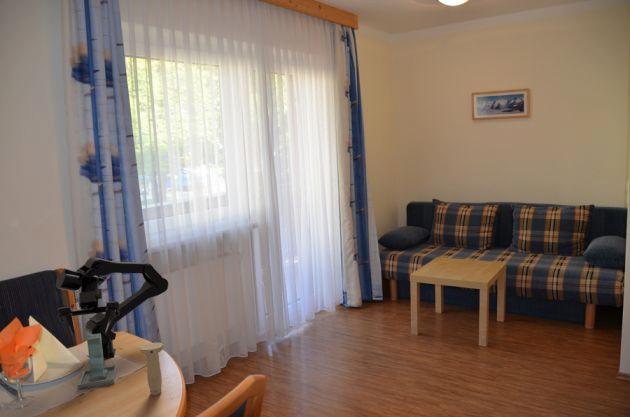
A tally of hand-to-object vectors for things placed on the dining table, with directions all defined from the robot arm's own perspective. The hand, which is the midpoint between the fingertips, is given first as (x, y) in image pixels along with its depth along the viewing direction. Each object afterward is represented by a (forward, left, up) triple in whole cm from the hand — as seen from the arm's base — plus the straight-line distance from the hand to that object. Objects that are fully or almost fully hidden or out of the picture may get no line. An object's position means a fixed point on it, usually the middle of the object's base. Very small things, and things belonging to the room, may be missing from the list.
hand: (89, 335), depth 164 cm
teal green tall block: (+4, +2, -13) cm, 14 cm away
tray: (+4, +2, -14) cm, 14 cm away
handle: (+20, +20, -14) cm, 32 cm away
